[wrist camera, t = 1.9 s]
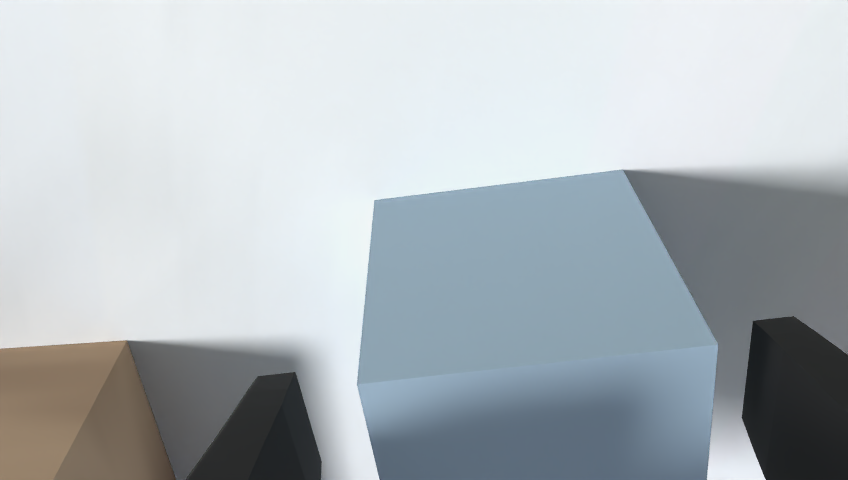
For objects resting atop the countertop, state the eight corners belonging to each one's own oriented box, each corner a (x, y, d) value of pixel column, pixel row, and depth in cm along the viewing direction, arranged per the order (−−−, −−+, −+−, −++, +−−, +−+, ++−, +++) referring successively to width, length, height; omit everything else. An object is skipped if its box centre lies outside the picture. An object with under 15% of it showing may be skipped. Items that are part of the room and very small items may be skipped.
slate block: (621, 360, 16) (698, 572, 12) (409, 383, 16) (408, 600, 12) (621, 168, 14) (718, 344, 9) (374, 199, 14) (356, 384, 10)
